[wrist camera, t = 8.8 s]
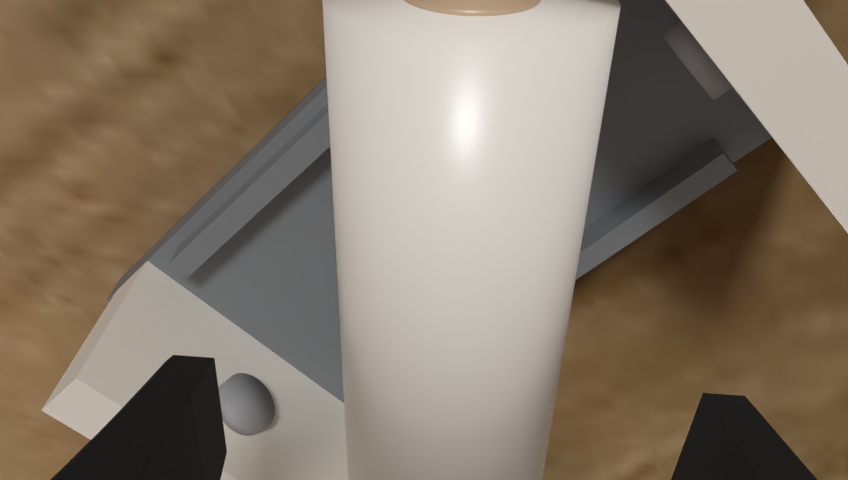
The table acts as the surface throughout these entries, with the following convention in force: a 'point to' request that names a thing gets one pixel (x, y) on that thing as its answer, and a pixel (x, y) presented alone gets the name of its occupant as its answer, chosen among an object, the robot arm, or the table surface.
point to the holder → (315, 231)
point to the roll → (459, 222)
